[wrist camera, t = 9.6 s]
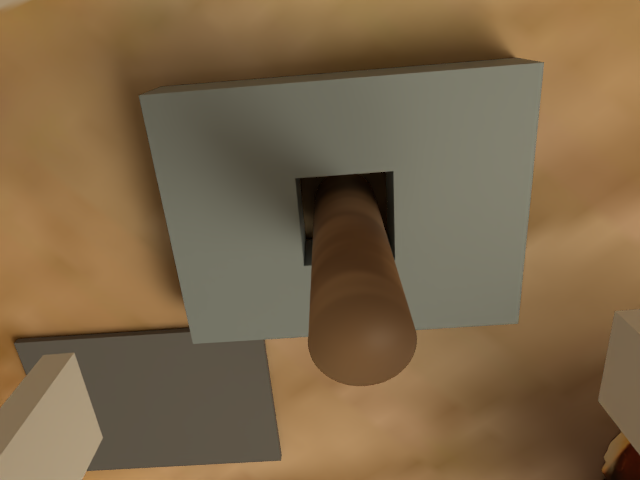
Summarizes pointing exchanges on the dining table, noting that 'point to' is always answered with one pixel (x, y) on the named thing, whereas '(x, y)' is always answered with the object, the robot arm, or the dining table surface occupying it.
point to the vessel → (621, 460)
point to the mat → (171, 397)
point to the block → (341, 159)
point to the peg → (355, 289)
